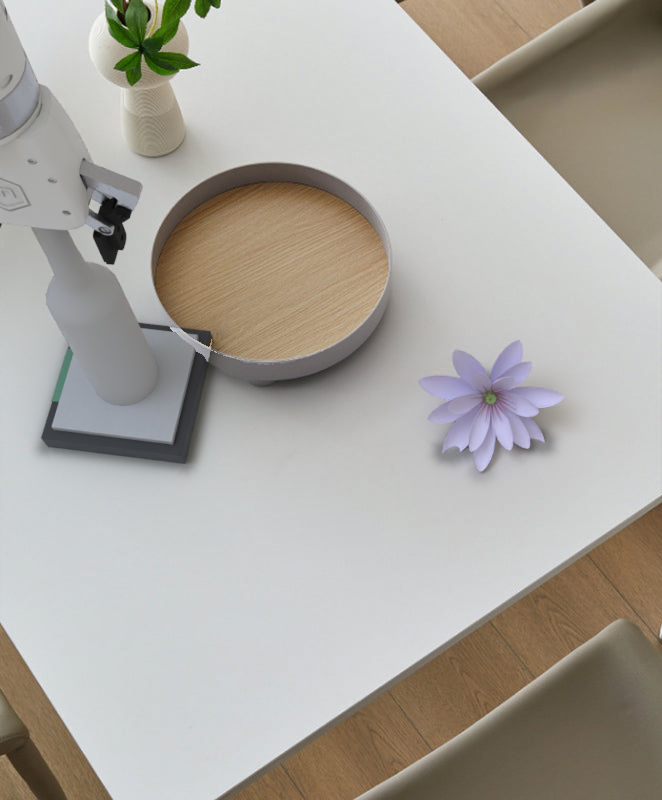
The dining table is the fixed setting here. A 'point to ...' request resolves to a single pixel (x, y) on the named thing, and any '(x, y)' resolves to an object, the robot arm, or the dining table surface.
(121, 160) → the dining table surface
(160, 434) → the scale
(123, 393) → the bottle
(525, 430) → the water lily
